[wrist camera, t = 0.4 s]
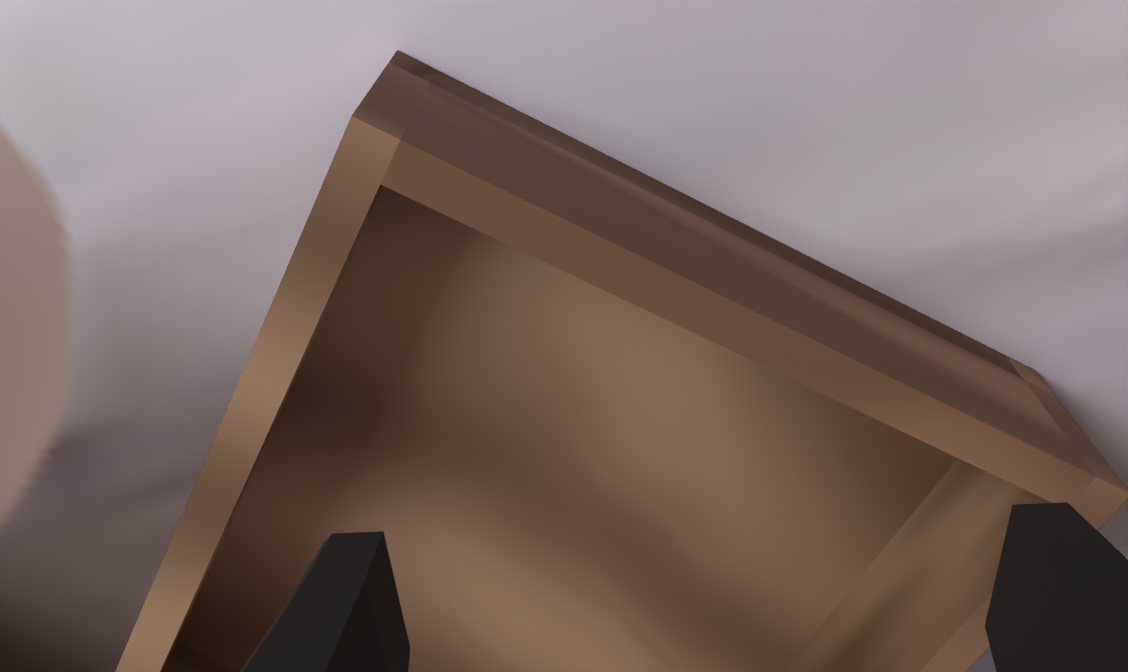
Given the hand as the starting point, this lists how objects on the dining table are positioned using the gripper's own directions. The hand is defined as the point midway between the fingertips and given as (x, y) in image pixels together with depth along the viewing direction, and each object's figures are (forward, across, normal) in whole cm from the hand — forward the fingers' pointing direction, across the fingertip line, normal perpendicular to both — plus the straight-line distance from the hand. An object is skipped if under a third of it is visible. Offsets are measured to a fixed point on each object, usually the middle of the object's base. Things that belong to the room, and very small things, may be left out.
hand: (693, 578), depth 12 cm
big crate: (+10, +2, +8) cm, 13 cm away
